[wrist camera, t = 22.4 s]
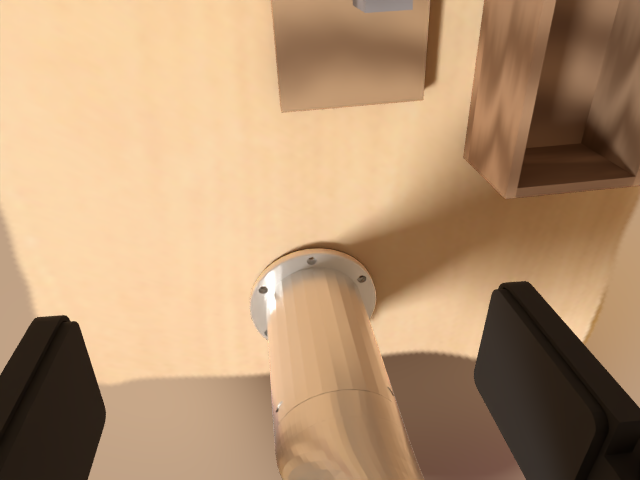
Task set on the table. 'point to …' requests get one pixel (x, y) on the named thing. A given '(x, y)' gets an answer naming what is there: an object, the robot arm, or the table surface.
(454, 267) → the table surface
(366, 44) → the lid
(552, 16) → the toolbox
